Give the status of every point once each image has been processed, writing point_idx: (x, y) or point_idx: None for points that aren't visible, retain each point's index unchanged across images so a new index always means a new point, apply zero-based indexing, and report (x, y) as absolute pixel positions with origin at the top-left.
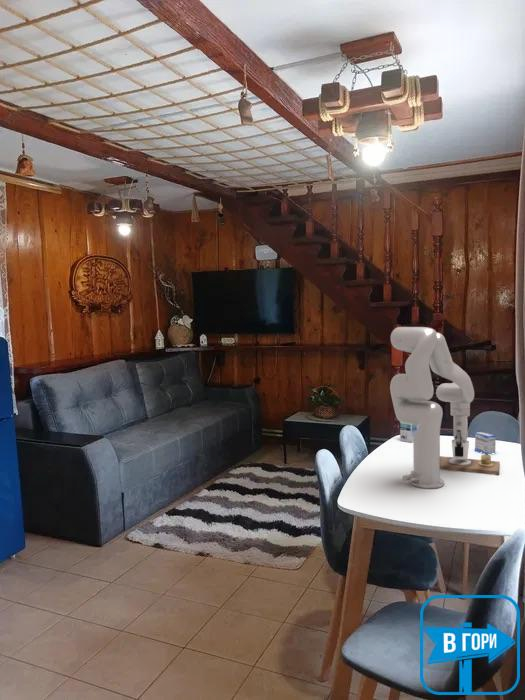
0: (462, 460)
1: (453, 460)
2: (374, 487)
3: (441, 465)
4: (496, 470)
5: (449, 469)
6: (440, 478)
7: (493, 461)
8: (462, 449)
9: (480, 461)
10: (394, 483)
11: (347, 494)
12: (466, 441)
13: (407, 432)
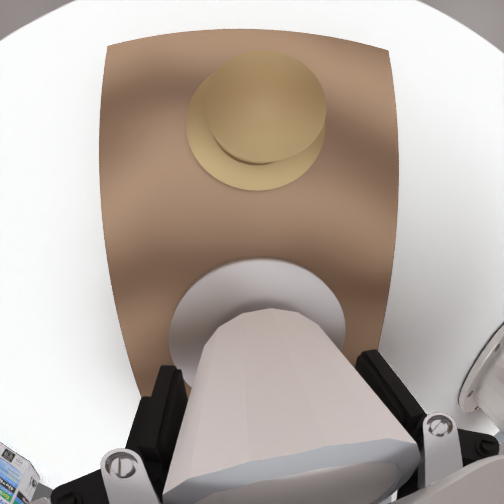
0: None
1: None
2: (487, 426)
3: None
4: (376, 61)
5: None
6: (499, 341)
7: (112, 84)
8: (407, 400)
9: (147, 183)
10: (478, 417)
11: None
12: (287, 477)
13: (24, 490)
